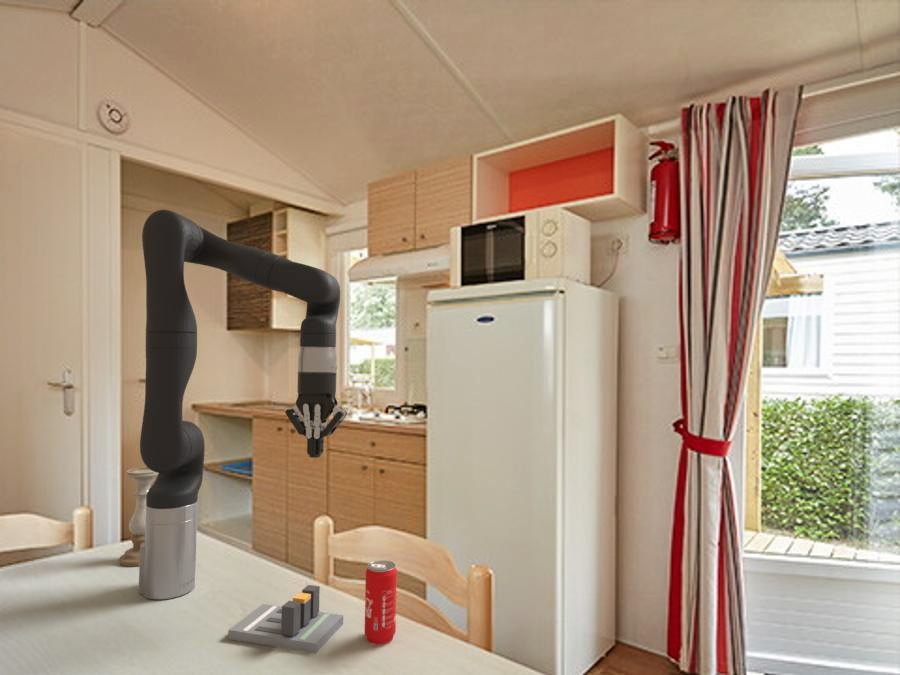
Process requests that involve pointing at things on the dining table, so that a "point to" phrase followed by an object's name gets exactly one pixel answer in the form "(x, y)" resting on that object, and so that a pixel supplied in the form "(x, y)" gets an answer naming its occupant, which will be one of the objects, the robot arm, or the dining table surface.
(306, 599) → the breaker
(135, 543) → the candle holder
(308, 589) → the block
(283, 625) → the block
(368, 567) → the beverage can
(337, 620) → the panel
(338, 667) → the dining table surface
